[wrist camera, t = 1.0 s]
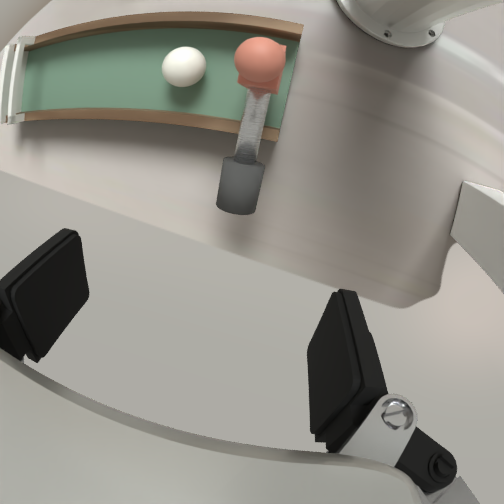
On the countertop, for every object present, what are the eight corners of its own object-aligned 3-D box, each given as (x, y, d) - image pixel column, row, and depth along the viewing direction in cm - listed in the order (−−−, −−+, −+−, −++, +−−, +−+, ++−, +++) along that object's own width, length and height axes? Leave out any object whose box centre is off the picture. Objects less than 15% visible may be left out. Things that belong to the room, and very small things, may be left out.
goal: (25, 46, 19) (-3, 46, 14) (51, 38, 19) (22, 35, 14) (16, 119, 25) (-12, 126, 20) (40, 117, 25) (10, 124, 20)
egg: (175, 50, 21) (159, 42, 18) (214, 52, 21) (203, 43, 18) (168, 86, 23) (150, 84, 20) (206, 90, 23) (194, 87, 20)
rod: (258, 47, 20) (240, 3, 10) (291, 53, 20) (298, 12, 10) (230, 180, 27) (198, 231, 17) (261, 187, 27) (247, 242, 17)
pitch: (30, 46, 20) (10, 46, 16) (300, 35, 20) (303, 24, 17) (21, 118, 25) (1, 123, 22) (277, 137, 26) (277, 142, 22)
